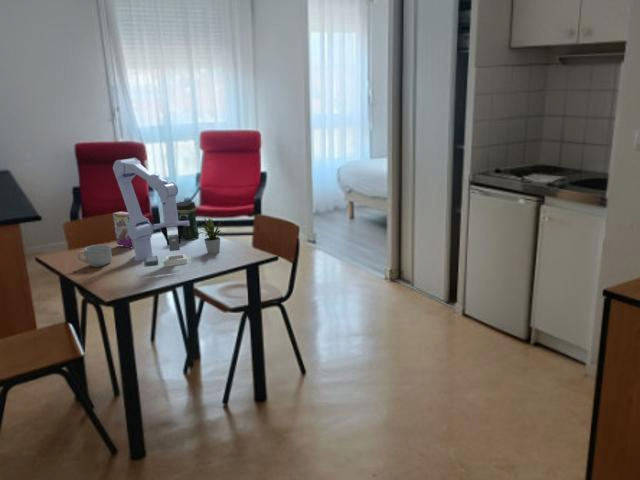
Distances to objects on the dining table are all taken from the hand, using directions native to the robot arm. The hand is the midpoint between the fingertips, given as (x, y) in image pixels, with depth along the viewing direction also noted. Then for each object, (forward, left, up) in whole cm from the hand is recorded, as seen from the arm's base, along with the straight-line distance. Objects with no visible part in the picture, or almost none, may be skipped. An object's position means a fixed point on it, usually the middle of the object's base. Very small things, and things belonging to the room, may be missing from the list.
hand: (173, 244), depth 251 cm
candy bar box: (-43, -20, -9) cm, 48 cm away
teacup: (-13, -33, -9) cm, 36 cm away
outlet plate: (-2, -4, -8) cm, 9 cm away
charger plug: (0, 0, -2) cm, 2 cm away
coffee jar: (-45, +9, -9) cm, 47 cm away
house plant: (-12, +16, -9) cm, 22 cm away
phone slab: (-4, -10, -8) cm, 13 cm away
